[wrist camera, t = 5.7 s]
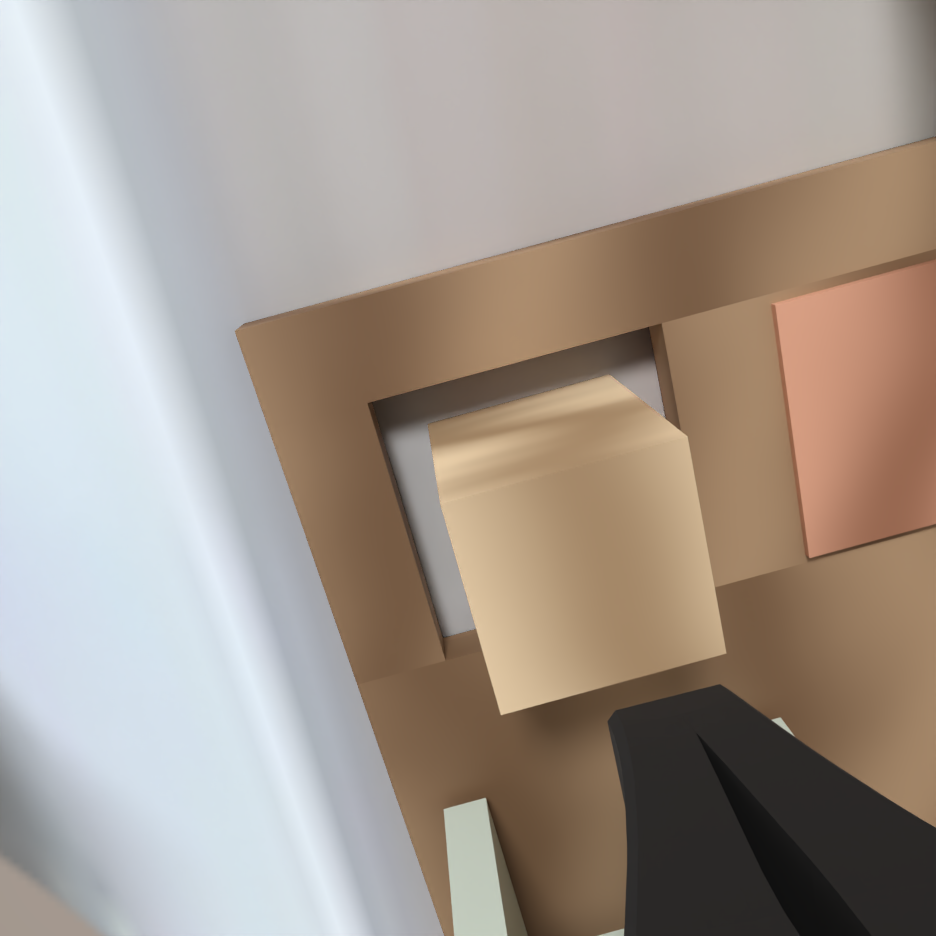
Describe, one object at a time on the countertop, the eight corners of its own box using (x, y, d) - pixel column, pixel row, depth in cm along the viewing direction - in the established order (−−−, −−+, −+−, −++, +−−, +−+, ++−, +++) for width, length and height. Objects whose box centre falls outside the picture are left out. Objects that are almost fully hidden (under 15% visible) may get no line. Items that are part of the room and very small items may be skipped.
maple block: (473, 587, 19) (500, 715, 14) (427, 423, 18) (440, 503, 13) (643, 540, 19) (726, 653, 14) (608, 374, 18) (687, 436, 13)
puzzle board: (484, 1028, 23) (489, 1071, 22) (243, 323, 17) (233, 332, 16) (1043, 875, 23) (1077, 910, 22) (1013, 115, 17) (1058, 109, 16)
